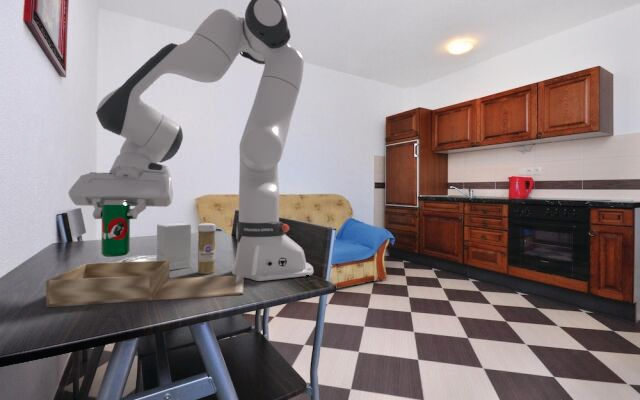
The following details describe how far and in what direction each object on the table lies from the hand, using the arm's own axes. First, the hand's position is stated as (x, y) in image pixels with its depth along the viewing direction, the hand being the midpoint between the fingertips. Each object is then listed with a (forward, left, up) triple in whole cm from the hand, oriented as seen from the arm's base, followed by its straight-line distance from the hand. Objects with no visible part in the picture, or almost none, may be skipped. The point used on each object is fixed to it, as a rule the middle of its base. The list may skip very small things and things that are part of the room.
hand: (114, 217), depth 64 cm
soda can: (0, 0, -8) cm, 8 cm away
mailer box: (-9, -1, -16) cm, 19 cm away
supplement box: (-7, -22, -17) cm, 28 cm away
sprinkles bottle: (-17, -14, -17) cm, 27 cm away
